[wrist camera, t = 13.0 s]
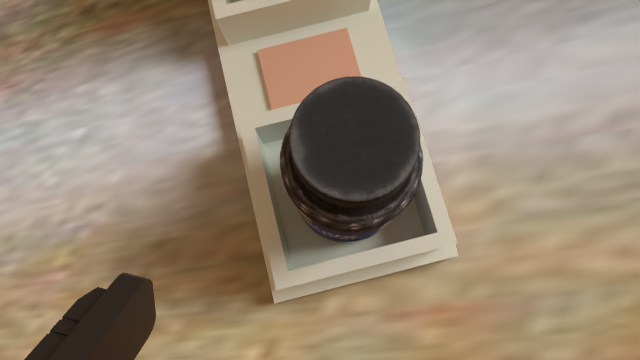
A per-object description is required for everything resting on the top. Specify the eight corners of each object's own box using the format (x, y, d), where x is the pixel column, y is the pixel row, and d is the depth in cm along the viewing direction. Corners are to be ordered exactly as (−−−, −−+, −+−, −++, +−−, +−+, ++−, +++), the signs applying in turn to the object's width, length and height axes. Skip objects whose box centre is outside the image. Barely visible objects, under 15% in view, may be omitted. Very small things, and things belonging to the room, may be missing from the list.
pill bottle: (276, 209, 26) (232, 163, 15) (329, 126, 27) (323, 27, 16) (365, 263, 25) (386, 257, 14) (416, 175, 26) (473, 106, 15)
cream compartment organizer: (452, 256, 26) (569, 241, 13) (277, 302, 26) (217, 332, 13) (339, -102, 32) (341, -360, 19) (195, -67, 31) (97, -302, 19)
